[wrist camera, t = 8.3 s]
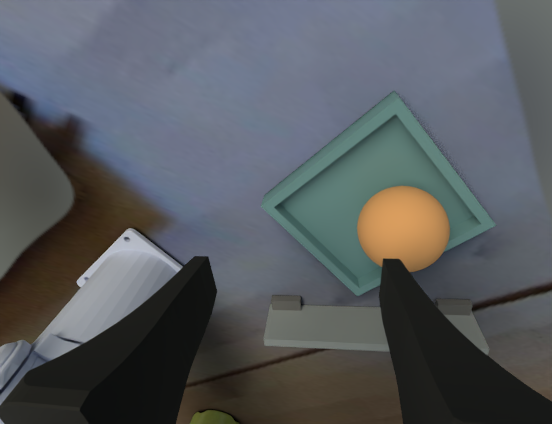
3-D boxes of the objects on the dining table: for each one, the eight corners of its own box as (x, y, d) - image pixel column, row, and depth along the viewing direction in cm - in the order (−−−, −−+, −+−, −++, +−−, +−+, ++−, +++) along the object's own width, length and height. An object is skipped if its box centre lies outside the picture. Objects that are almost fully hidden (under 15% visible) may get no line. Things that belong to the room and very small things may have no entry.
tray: (355, 282, 26) (357, 296, 25) (264, 195, 23) (260, 206, 21) (486, 212, 21) (496, 225, 20) (394, 90, 18) (399, 97, 17)
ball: (366, 255, 23) (421, 302, 19) (326, 221, 20) (381, 269, 16) (415, 200, 22) (482, 236, 18) (381, 157, 19) (453, 190, 15)
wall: (474, 299, 25) (493, 338, 22) (466, 325, 27) (483, 365, 24) (268, 295, 28) (261, 329, 25) (272, 319, 29) (266, 354, 26)
